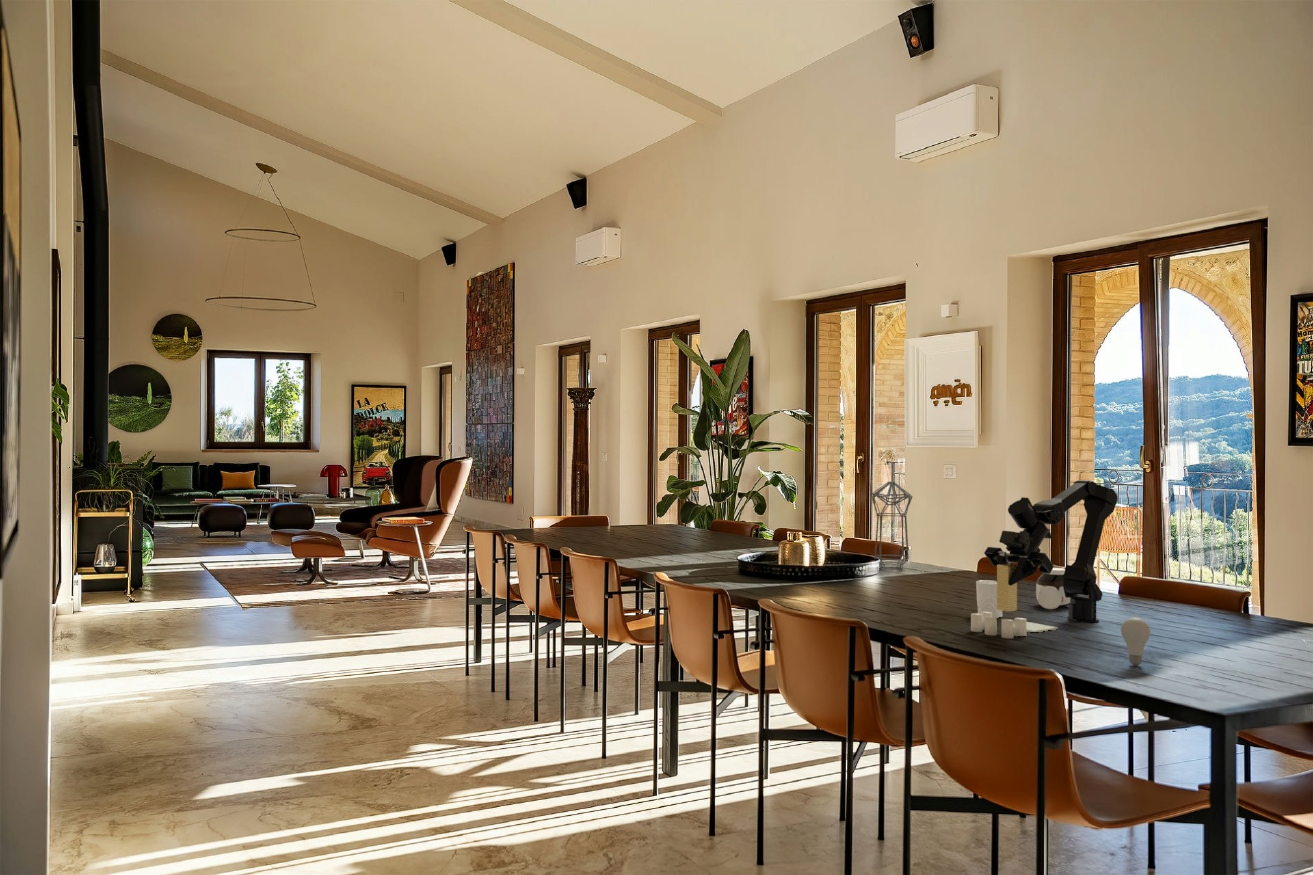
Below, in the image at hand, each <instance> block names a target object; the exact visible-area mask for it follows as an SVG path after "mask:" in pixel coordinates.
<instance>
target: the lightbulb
mask: <svg viewBox="0 0 1313 875" xmlns="http://www.w3.org/2000/svg"><path fill="white" fill-rule="evenodd" d="M1120 632H1121V633H1120V634H1121V636H1122V638H1123V640H1124V641H1125V643H1126V647H1127V653H1128V659H1129V663H1130V664H1132V665H1133V666H1134V667H1138V666H1139V665H1141V664H1142V662H1143V655H1144V648H1145V646H1146V643H1147V642H1148V641H1149V639H1150V637H1151V628H1150V626H1149V624H1148V623H1147V621H1145V620H1144V619H1142V618H1140V617H1130V618H1127V619H1126V620H1124V621H1123V623H1122V625H1121V626H1120Z"/></svg>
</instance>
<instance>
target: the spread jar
mask: <svg viewBox="0 0 1313 875" xmlns="http://www.w3.org/2000/svg"><path fill="white" fill-rule="evenodd" d="M1064 572H1065V568H1062V567H1053V569H1052V571H1051V573H1050V574H1046V573H1041V575H1040V576H1039V577H1038V578H1037V580H1036V587H1035V588H1036V589H1035V597H1036V600H1037V602H1038V603H1039V605H1040V606H1041V607H1042V608H1044V609H1046V610H1054V609H1055V610H1056V609H1064V608H1065V609H1066V608H1067V607H1069V603H1070V598H1066V597H1065V593H1064V589H1063V584H1062V581H1063V578H1062V577H1063V575H1064Z"/></svg>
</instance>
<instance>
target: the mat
mask: <svg viewBox="0 0 1313 875" xmlns="http://www.w3.org/2000/svg"><path fill="white" fill-rule="evenodd" d="M1056 629H1058V627H1057V626H1052V625H1047V624H1042V623H1037V622H1030V621H1027V633H1030V632H1039V633H1044V632H1043V631H1045V632H1049V631H1048V630H1052V631H1057V630H1056Z"/></svg>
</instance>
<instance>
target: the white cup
mask: <svg viewBox="0 0 1313 875" xmlns="http://www.w3.org/2000/svg"><path fill="white" fill-rule="evenodd" d="M975 586H976V587H975V588H976V605H977V613H978V614H981V612H992V617H997V619H1000V618H999V617H1001V618H1002V617H1003V612H1004V611H1002V610H997V582H996V580H991V579H989V580H987V579H983V580H982V579H980V580H976V581H975Z"/></svg>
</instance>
